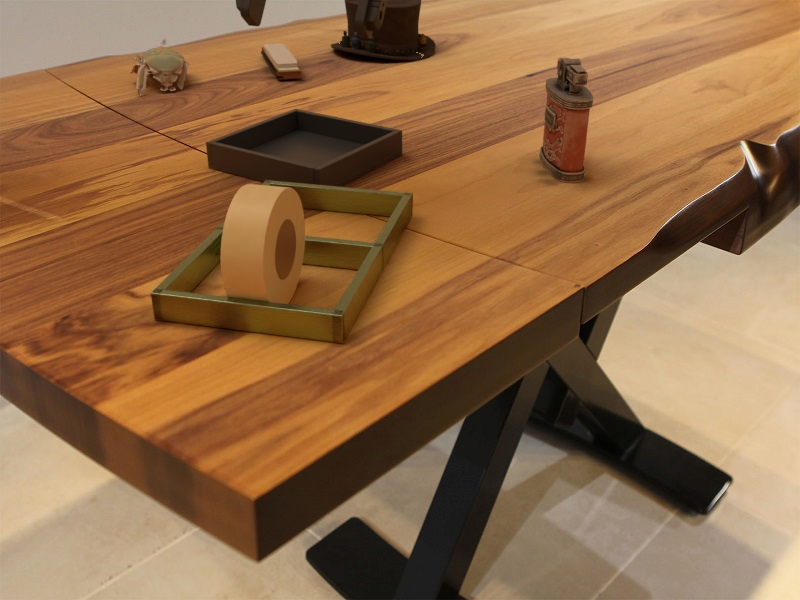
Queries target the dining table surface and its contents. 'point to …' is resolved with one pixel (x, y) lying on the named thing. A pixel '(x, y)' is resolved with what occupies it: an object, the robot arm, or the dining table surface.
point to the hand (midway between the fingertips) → (305, 27)
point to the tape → (263, 244)
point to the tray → (305, 149)
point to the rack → (295, 320)
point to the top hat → (389, 33)
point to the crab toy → (160, 68)
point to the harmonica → (281, 61)
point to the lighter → (566, 122)
